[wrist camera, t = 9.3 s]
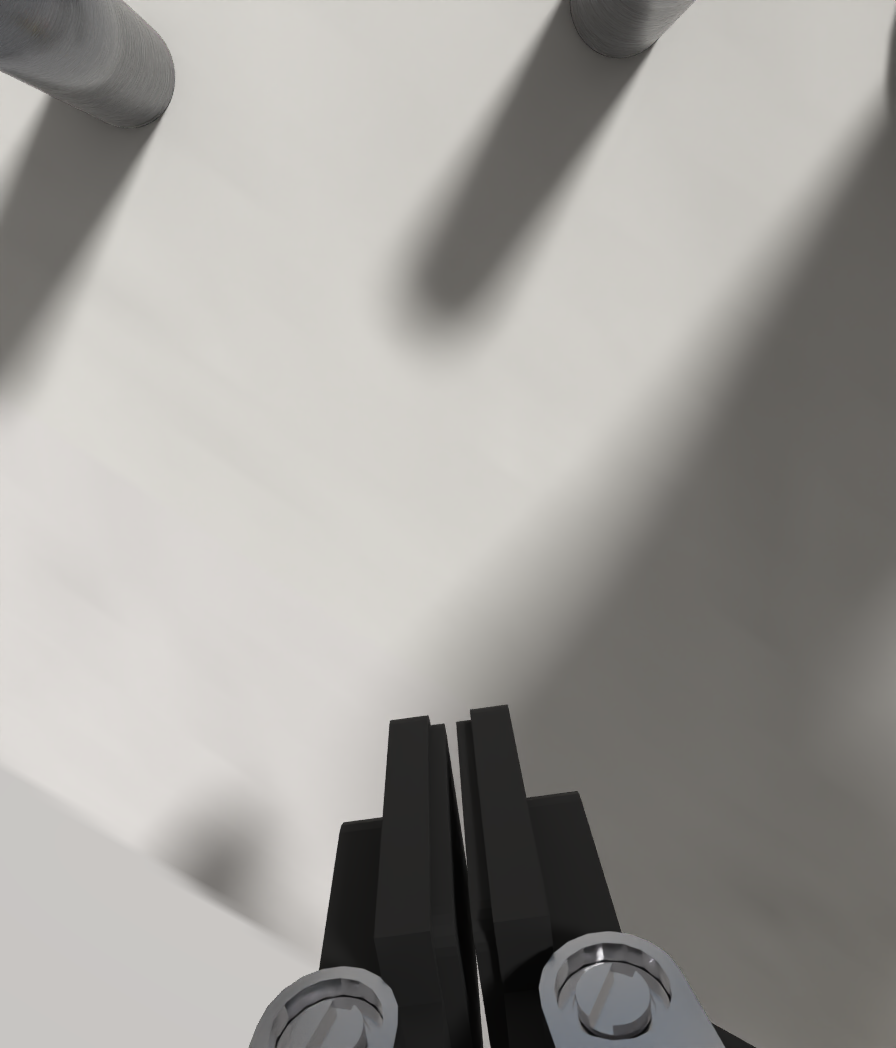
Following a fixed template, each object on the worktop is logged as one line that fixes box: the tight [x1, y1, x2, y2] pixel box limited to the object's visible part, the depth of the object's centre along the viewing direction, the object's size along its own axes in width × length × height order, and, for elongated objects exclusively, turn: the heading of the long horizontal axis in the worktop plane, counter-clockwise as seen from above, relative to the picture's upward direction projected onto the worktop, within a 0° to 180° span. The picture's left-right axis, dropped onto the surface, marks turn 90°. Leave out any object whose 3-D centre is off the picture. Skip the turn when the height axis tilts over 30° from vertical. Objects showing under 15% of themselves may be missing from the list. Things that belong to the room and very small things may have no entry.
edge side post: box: [0, 0, 175, 128], centre depth 16 cm, size 3×3×9 cm
